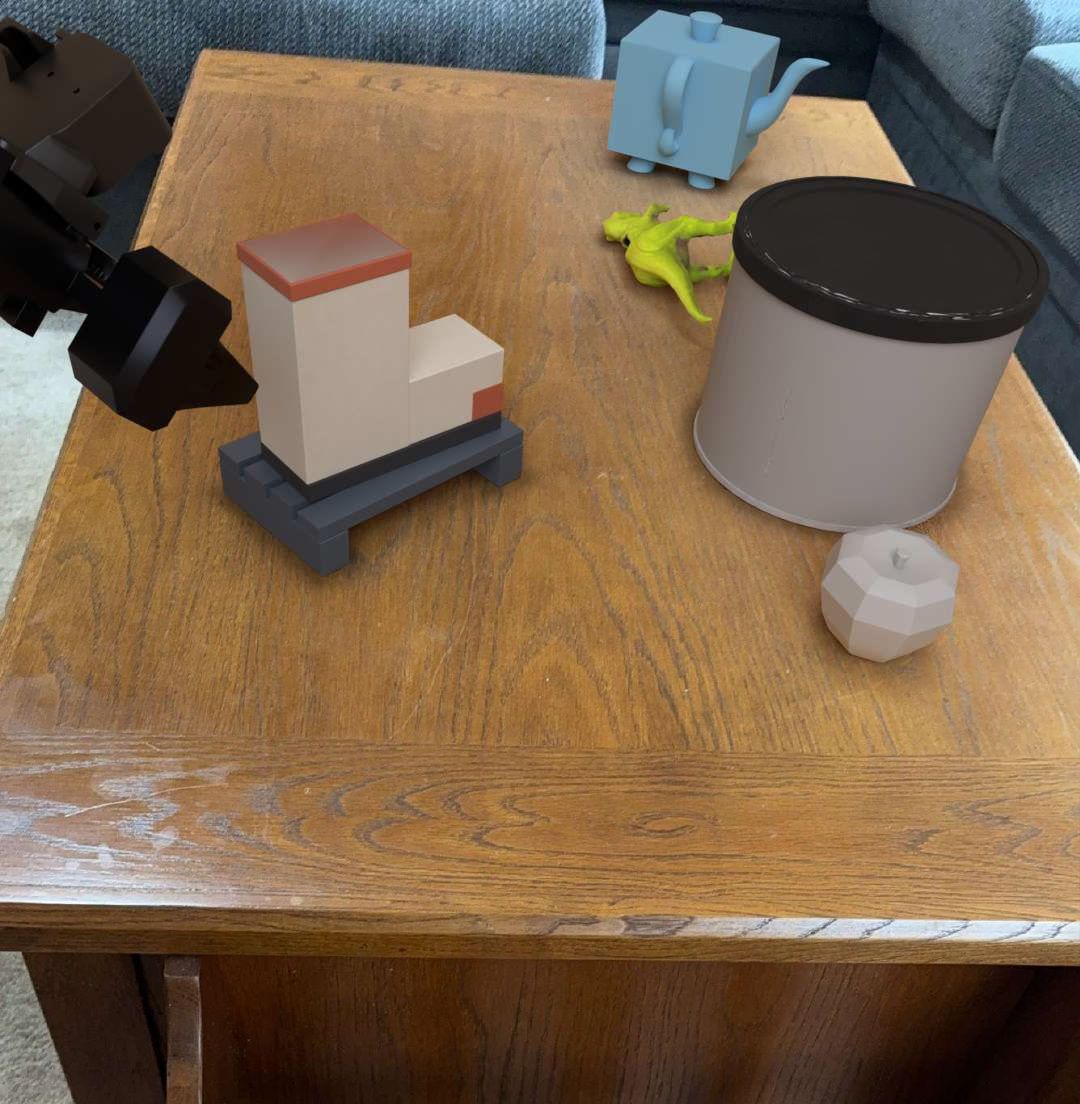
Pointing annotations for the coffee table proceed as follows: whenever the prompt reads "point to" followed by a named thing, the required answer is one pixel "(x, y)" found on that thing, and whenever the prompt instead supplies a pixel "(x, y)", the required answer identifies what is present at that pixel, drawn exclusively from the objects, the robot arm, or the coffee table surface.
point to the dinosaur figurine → (668, 250)
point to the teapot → (697, 94)
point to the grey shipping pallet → (353, 491)
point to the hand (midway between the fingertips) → (198, 352)
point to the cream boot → (356, 359)
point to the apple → (887, 591)
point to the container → (860, 348)
